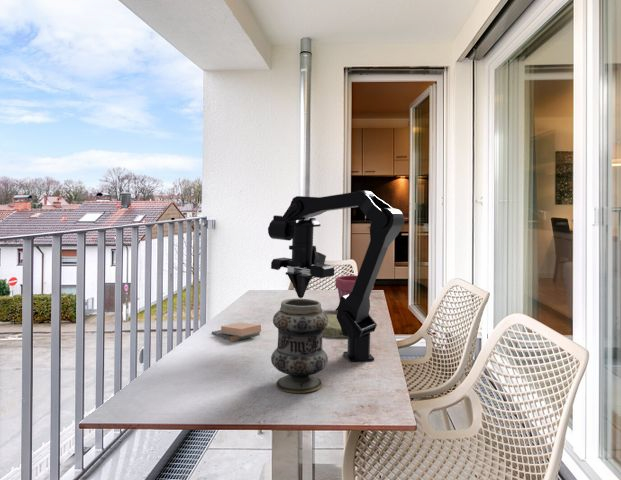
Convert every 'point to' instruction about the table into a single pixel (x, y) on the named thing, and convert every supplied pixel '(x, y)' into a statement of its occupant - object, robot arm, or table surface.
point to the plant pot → (345, 284)
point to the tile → (241, 329)
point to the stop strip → (235, 338)
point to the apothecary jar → (299, 345)
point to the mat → (222, 334)
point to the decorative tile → (333, 327)
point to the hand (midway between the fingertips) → (300, 297)
